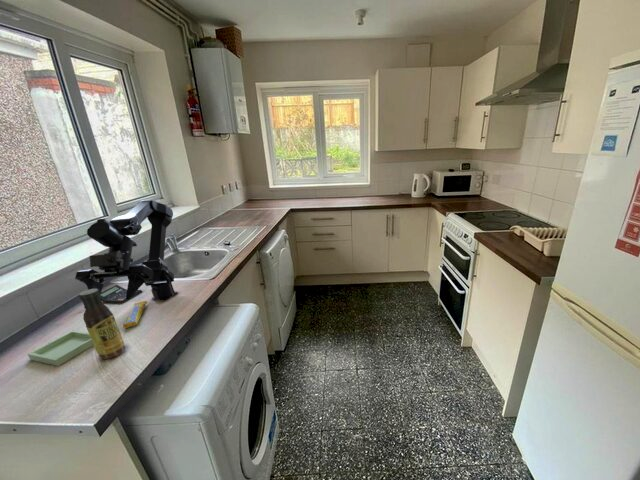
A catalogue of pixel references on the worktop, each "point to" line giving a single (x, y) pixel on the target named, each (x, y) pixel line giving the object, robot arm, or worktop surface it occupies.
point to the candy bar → (135, 314)
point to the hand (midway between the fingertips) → (111, 301)
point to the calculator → (115, 294)
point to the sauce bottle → (101, 325)
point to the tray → (62, 348)
